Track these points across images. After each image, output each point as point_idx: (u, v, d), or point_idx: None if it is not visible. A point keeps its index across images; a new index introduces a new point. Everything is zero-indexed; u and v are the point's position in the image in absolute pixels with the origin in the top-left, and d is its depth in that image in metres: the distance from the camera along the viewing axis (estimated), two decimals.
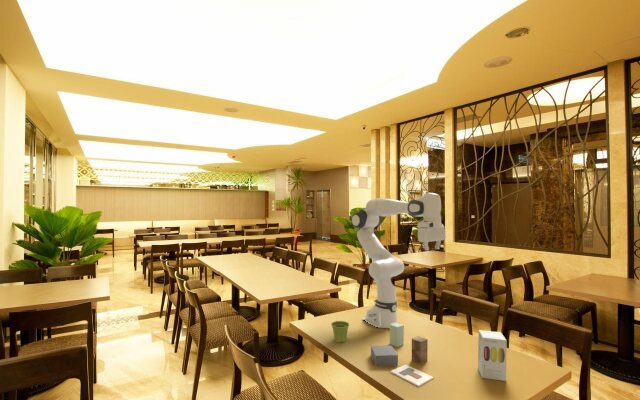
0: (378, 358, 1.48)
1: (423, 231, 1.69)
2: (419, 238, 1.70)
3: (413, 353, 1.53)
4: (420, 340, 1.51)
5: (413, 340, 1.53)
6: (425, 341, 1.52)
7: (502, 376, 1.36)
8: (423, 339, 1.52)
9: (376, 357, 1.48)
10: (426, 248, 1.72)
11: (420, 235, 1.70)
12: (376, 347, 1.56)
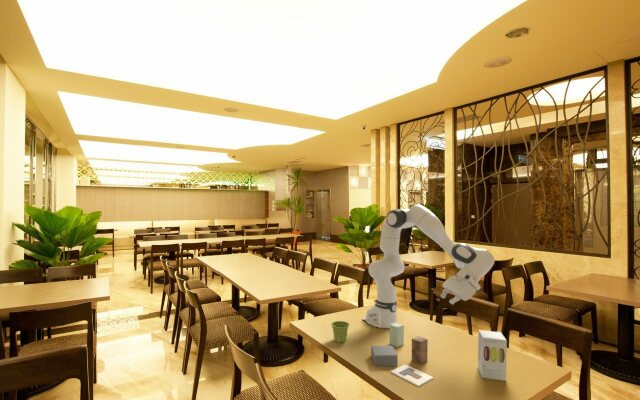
0: (377, 358, 1.48)
1: (473, 292, 1.45)
2: (464, 294, 1.45)
3: (413, 353, 1.53)
4: (420, 340, 1.51)
5: (413, 340, 1.53)
6: (425, 341, 1.52)
7: (502, 376, 1.36)
8: (423, 339, 1.52)
9: (376, 357, 1.48)
10: (453, 302, 1.49)
11: (468, 292, 1.45)
12: (376, 347, 1.56)
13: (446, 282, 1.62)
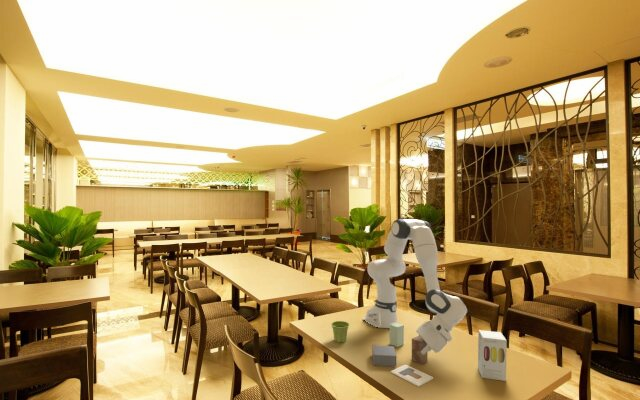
0: (376, 358, 1.49)
1: (444, 344, 1.44)
2: (435, 346, 1.44)
3: (413, 353, 1.53)
4: (420, 340, 1.51)
5: (413, 340, 1.53)
6: None
7: (502, 376, 1.36)
8: (423, 339, 1.52)
9: (374, 356, 1.49)
10: (424, 352, 1.49)
11: (438, 344, 1.44)
12: (377, 347, 1.57)
13: (420, 328, 1.61)
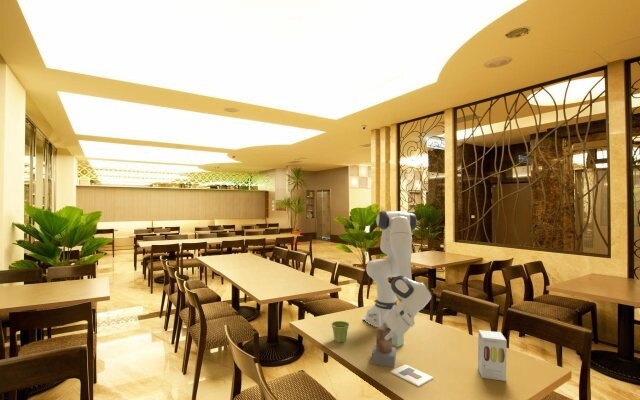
0: (374, 357, 1.49)
1: (406, 328, 1.44)
2: (397, 331, 1.43)
3: (377, 342, 1.53)
4: (384, 330, 1.51)
5: (377, 329, 1.53)
6: (389, 331, 1.52)
7: (502, 376, 1.36)
8: (387, 329, 1.52)
9: (372, 355, 1.50)
10: (388, 338, 1.48)
11: (400, 329, 1.44)
12: None
13: (386, 315, 1.61)
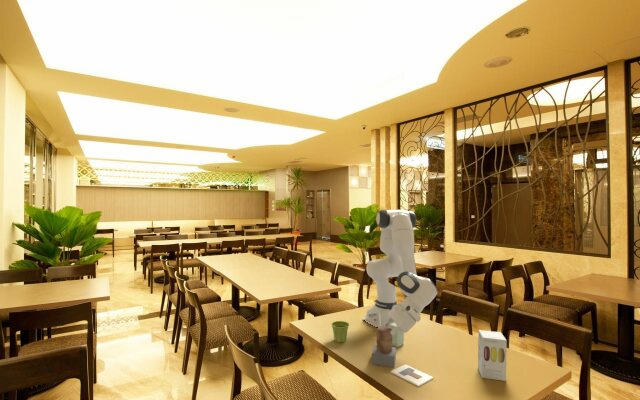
0: (374, 357, 1.49)
1: (412, 324, 1.44)
2: (403, 326, 1.44)
3: (378, 343, 1.53)
4: (384, 330, 1.51)
5: (378, 330, 1.53)
6: (389, 331, 1.52)
7: (502, 376, 1.36)
8: (388, 329, 1.52)
9: (372, 355, 1.50)
10: (394, 333, 1.48)
11: (406, 324, 1.44)
12: None
13: (392, 310, 1.62)
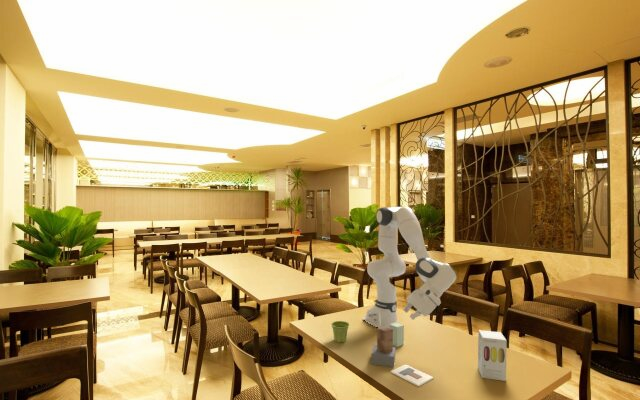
0: (374, 357, 1.49)
1: (433, 307, 1.45)
2: (424, 310, 1.44)
3: (378, 342, 1.53)
4: (385, 330, 1.51)
5: (378, 329, 1.53)
6: (390, 331, 1.52)
7: (502, 376, 1.36)
8: (388, 329, 1.52)
9: (372, 355, 1.50)
10: (414, 317, 1.49)
11: (427, 308, 1.44)
12: None
13: (410, 296, 1.62)
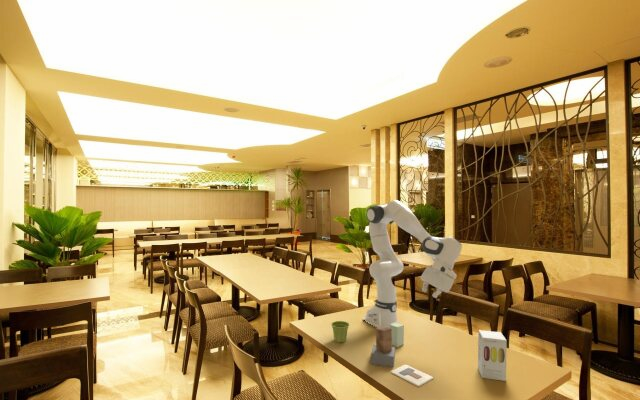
0: (373, 357, 1.49)
1: (452, 282, 1.53)
2: (445, 287, 1.52)
3: (377, 342, 1.53)
4: (383, 330, 1.51)
5: (377, 329, 1.53)
6: (389, 330, 1.52)
7: (502, 376, 1.36)
8: (387, 329, 1.52)
9: (371, 355, 1.50)
10: (436, 295, 1.56)
11: (447, 284, 1.53)
12: None
13: (423, 275, 1.69)
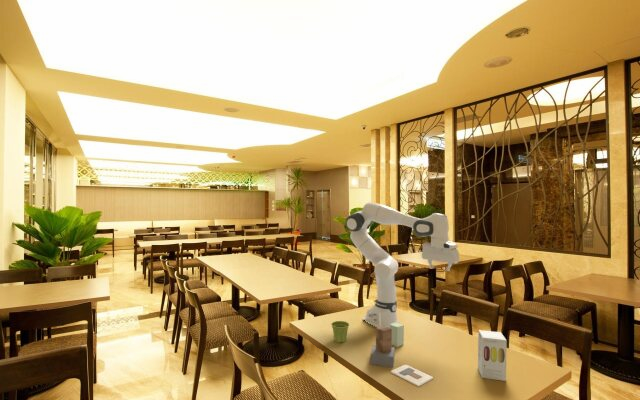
0: (373, 357, 1.49)
1: (457, 252, 1.71)
2: (456, 260, 1.70)
3: (377, 342, 1.53)
4: (383, 330, 1.51)
5: (377, 329, 1.53)
6: (389, 331, 1.52)
7: (502, 376, 1.36)
8: (387, 329, 1.52)
9: (371, 355, 1.50)
10: (449, 268, 1.74)
11: (456, 256, 1.70)
12: None
13: (424, 254, 1.83)
